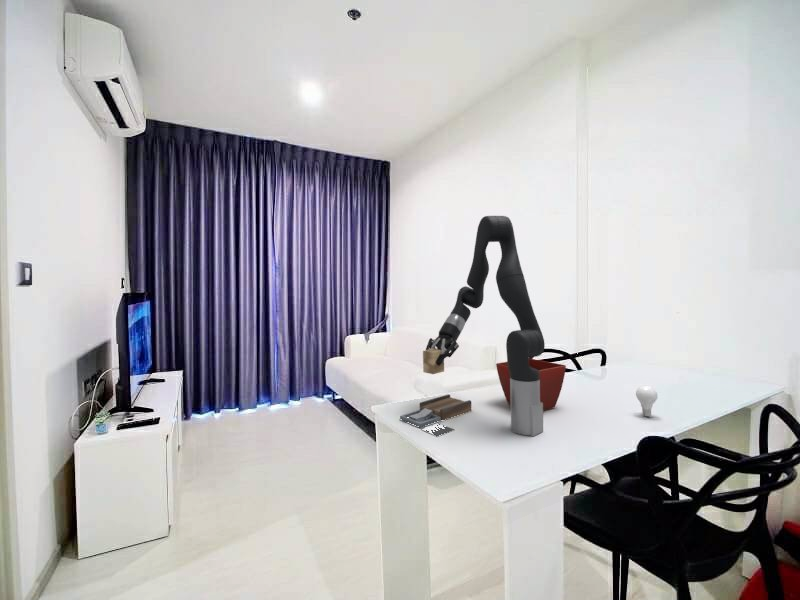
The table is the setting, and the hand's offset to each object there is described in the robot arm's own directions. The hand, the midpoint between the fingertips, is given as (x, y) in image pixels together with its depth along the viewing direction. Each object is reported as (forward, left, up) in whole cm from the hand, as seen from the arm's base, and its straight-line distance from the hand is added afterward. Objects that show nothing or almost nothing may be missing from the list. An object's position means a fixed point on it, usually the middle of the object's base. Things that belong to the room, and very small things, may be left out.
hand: (431, 363), depth 135 cm
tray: (0, +6, -20) cm, 21 cm away
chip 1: (0, +8, -18) cm, 20 cm away
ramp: (0, -7, -20) cm, 21 cm away
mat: (-10, +8, -20) cm, 24 cm away
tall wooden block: (0, -1, -3) cm, 4 cm away
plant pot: (-18, -36, -20) cm, 45 cm away
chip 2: (0, +4, -19) cm, 19 cm away
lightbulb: (-52, -55, -20) cm, 78 cm away
